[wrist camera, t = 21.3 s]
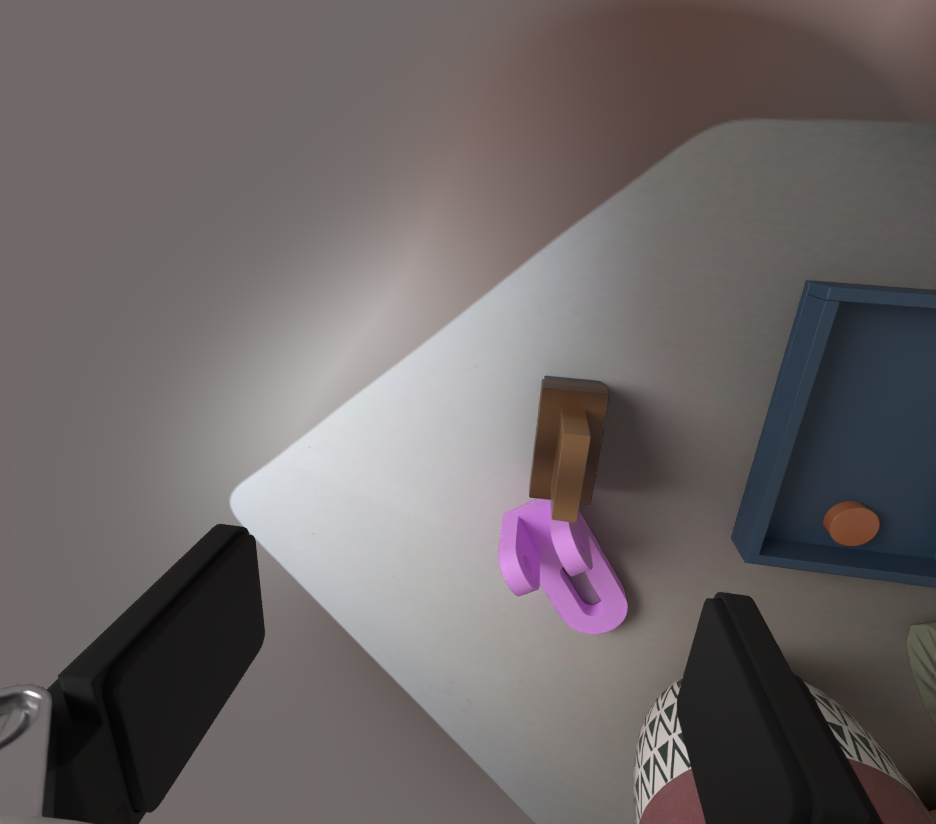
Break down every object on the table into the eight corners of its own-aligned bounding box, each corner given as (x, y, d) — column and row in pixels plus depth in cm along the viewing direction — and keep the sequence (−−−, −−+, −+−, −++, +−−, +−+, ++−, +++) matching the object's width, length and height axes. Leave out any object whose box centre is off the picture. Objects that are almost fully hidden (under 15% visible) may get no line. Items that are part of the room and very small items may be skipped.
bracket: (503, 513, 43) (496, 567, 36) (565, 486, 41) (569, 538, 34) (575, 629, 46) (580, 698, 39) (636, 609, 44) (651, 677, 38)
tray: (805, 280, 33) (830, 286, 31) (1058, 299, 32) (1108, 308, 29) (730, 538, 41) (744, 563, 38) (933, 563, 39) (964, 591, 36)
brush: (542, 372, 38) (541, 411, 30) (604, 378, 37) (618, 419, 30) (530, 475, 41) (527, 533, 34) (586, 482, 41) (596, 542, 33)
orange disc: (830, 498, 38) (837, 505, 37) (878, 503, 37) (886, 510, 36) (817, 535, 39) (823, 543, 38) (863, 541, 39) (871, 549, 38)
